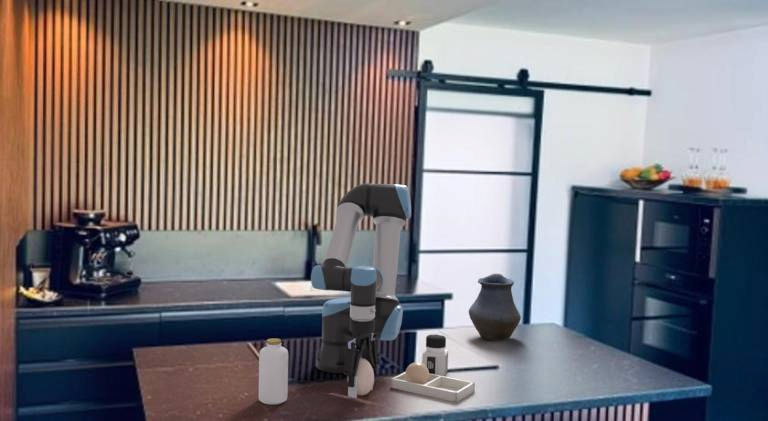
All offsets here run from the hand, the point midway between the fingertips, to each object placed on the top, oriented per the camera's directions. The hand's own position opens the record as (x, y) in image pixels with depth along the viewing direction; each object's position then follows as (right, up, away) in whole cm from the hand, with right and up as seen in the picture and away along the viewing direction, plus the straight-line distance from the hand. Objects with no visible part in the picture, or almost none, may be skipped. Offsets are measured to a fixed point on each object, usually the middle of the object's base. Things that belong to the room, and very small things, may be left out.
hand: (360, 393), depth 220 cm
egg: (0, -1, 0) cm, 1 cm away
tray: (+22, -1, +5) cm, 23 cm away
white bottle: (-25, -1, -7) cm, 26 cm away
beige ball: (+17, 0, +8) cm, 19 cm away
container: (+24, 0, +24) cm, 34 cm away
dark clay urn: (+51, +4, +74) cm, 90 cm away
